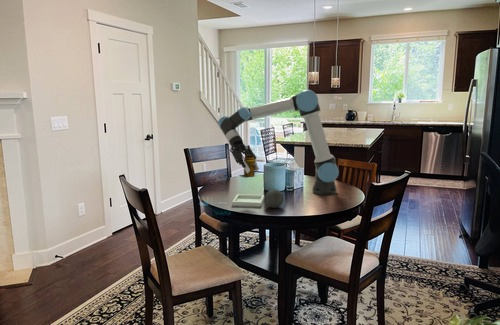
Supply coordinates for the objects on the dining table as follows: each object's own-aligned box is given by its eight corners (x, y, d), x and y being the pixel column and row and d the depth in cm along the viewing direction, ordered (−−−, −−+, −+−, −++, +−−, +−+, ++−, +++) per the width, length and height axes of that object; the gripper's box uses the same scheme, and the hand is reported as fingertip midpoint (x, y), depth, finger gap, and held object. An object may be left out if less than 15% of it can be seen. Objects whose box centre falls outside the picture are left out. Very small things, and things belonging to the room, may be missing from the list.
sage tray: (264, 199, 207) (264, 195, 206) (261, 207, 191) (261, 202, 191) (237, 198, 209) (237, 194, 209) (232, 206, 194) (232, 201, 193)
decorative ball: (261, 208, 189) (261, 190, 187) (271, 203, 197) (271, 186, 196) (278, 211, 184) (278, 192, 182) (287, 206, 192) (287, 188, 190)
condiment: (257, 176, 196) (257, 155, 194) (244, 178, 192) (245, 156, 190) (250, 174, 202) (250, 153, 200) (238, 175, 198) (237, 154, 196)
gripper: (244, 142, 212) (262, 172, 203) (218, 144, 200) (237, 177, 191) (249, 133, 207) (268, 164, 198) (224, 136, 195) (243, 169, 186)
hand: (253, 171), depth 194 cm, fingers closed on condiment, 6 cm apart
